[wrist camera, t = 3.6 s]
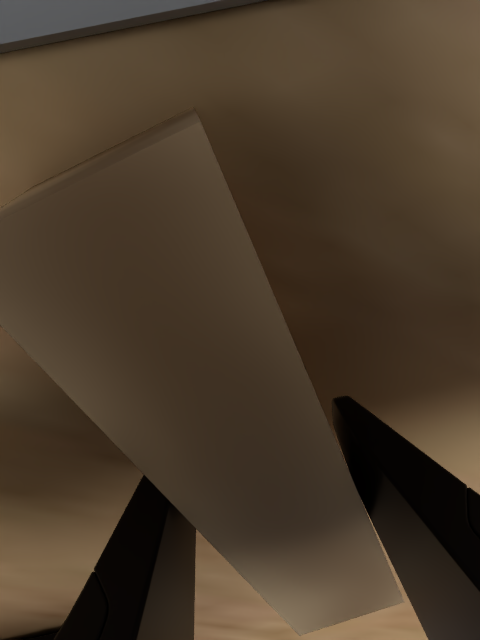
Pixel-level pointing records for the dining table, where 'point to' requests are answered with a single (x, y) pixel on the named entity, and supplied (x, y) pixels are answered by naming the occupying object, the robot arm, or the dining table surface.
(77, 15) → the fulcrum stand
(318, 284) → the dining table surface
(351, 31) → the dining table surface
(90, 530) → the dining table surface
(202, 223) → the oak batten
